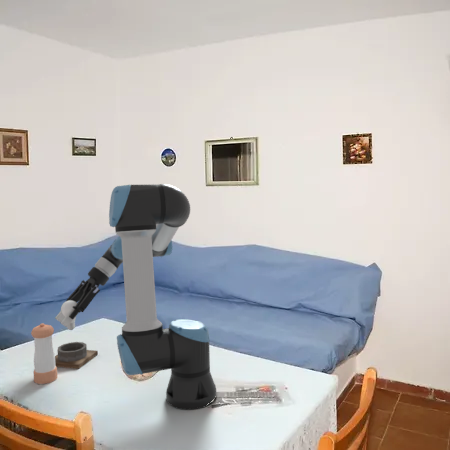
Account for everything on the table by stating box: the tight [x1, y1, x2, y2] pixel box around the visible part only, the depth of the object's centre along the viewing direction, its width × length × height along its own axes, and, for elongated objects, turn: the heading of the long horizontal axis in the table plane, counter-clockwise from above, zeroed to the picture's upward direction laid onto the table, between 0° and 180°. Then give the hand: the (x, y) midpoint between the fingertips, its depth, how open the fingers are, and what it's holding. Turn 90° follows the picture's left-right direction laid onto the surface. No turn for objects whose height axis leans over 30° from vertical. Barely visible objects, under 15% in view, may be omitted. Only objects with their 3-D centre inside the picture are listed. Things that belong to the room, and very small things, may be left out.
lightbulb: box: [60, 300, 78, 331], centre depth 166 cm, size 6×6×11 cm
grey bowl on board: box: [55, 341, 99, 370], centre depth 167 cm, size 13×13×5 cm
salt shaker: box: [30, 323, 58, 385], centre depth 151 cm, size 7×7×19 cm
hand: (60, 322), depth 164 cm, fingers closed on lightbulb, 6 cm apart
